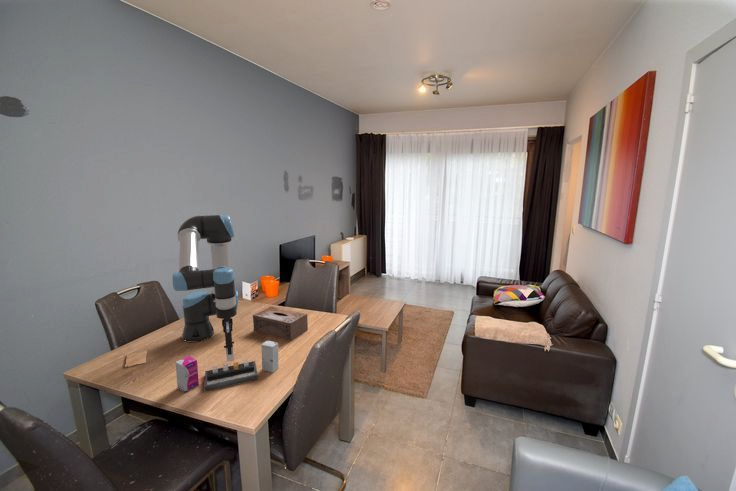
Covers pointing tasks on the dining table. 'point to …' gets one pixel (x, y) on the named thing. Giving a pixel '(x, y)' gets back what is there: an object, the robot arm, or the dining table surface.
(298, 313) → the tissue box cover
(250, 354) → the dining table surface
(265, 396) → the dining table surface
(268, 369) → the skincare box
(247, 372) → the breaker panel
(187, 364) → the supplement box
